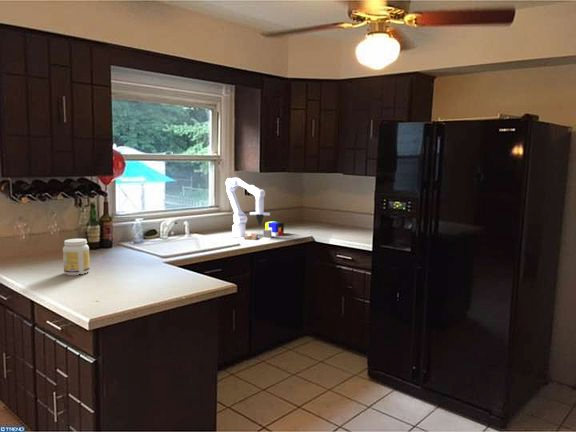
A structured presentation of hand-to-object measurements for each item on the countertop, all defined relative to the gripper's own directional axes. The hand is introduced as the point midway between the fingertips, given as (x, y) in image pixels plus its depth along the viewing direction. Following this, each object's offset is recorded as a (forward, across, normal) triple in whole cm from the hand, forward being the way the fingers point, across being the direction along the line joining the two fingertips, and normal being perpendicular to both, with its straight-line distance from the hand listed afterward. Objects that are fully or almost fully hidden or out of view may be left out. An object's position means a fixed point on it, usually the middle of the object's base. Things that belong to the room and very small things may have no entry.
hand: (259, 225), depth 340 cm
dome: (+10, -6, -4) cm, 12 cm away
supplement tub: (+10, -69, -116) cm, 136 cm away
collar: (+10, -6, -4) cm, 12 cm away
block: (+9, +5, +4) cm, 11 cm away
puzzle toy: (+10, +8, +17) cm, 21 cm away
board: (+10, +5, -2) cm, 11 cm away
